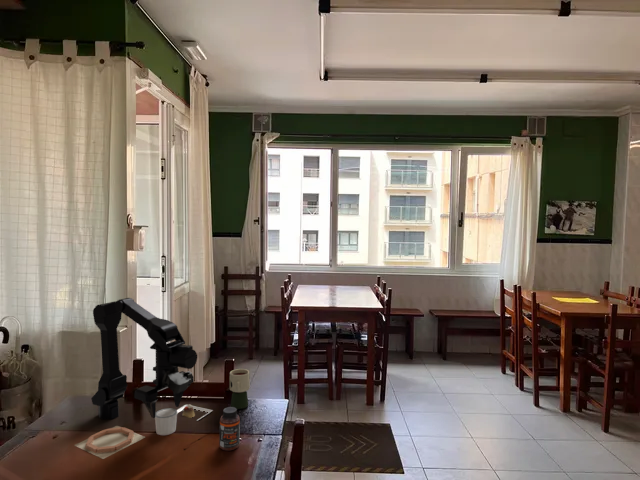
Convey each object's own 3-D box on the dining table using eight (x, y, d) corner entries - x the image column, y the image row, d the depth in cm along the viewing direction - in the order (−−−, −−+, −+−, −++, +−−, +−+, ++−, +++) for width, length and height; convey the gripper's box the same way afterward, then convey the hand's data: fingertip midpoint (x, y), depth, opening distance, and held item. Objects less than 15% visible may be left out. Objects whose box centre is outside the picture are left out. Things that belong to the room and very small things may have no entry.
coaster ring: (78, 444, 127) (78, 441, 127) (116, 427, 138) (116, 424, 138) (103, 456, 121) (103, 453, 121) (141, 437, 132) (141, 434, 132)
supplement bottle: (222, 453, 125) (222, 415, 125) (217, 443, 131) (217, 407, 130) (242, 448, 128) (242, 411, 128) (236, 439, 134) (236, 403, 133)
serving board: (74, 449, 127) (73, 445, 127) (117, 429, 139) (117, 425, 139) (103, 463, 120) (103, 459, 120) (145, 440, 132) (145, 437, 132)
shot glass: (170, 441, 132) (169, 418, 132) (149, 438, 134) (149, 416, 133) (181, 430, 139) (181, 409, 138) (162, 427, 140) (162, 407, 140)
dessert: (162, 421, 146) (162, 407, 146) (186, 407, 157) (186, 394, 157) (190, 428, 141) (190, 414, 141) (213, 413, 152) (213, 400, 152)
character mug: (231, 400, 161) (231, 366, 161) (250, 400, 162) (250, 366, 161) (227, 414, 150) (227, 377, 150) (247, 413, 151) (248, 377, 150)
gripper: (158, 378, 123) (158, 431, 124) (205, 359, 139) (205, 407, 140) (132, 370, 128) (133, 421, 129) (181, 353, 145) (181, 399, 145)
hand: (165, 412), depth 136 cm, fingers open, 9 cm apart
